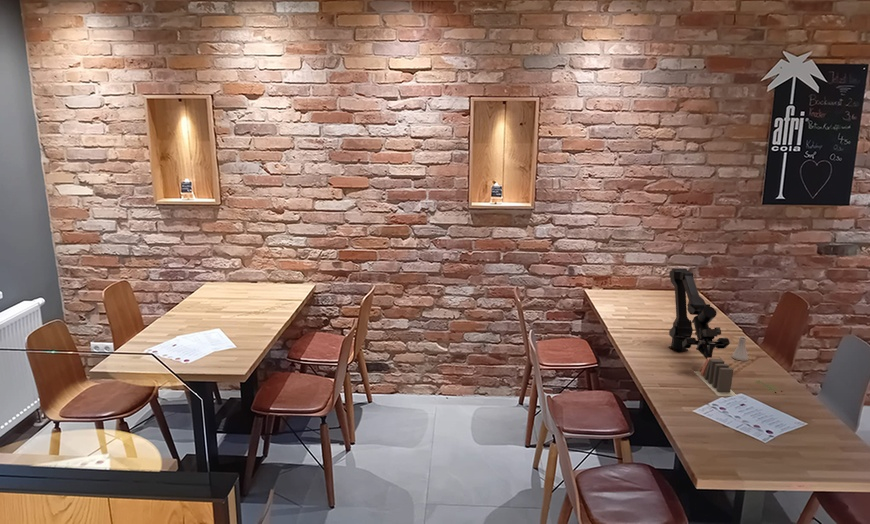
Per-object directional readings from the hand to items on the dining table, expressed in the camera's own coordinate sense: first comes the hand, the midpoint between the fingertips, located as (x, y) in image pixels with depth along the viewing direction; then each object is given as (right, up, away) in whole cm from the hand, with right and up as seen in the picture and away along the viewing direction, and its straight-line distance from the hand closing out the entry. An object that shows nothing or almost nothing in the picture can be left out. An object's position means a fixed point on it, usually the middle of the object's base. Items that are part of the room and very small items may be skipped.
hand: (709, 361), depth 278 cm
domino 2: (0, -7, -1) cm, 7 cm away
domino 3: (0, -8, -4) cm, 10 cm away
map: (+21, -11, -10) cm, 26 cm away
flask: (+24, -2, +25) cm, 35 cm away
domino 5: (0, -10, -12) cm, 16 cm away
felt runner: (0, -9, -4) cm, 10 cm away
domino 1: (0, -6, +3) cm, 7 cm away
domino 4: (0, -9, -8) cm, 13 cm away
